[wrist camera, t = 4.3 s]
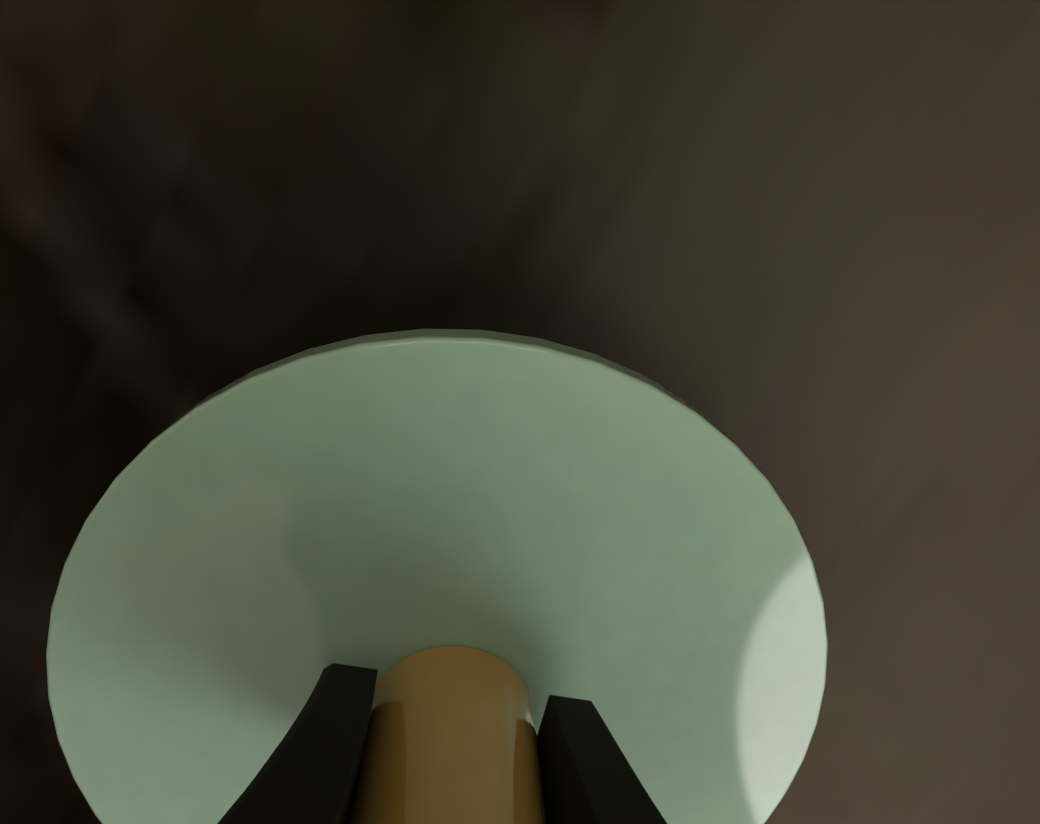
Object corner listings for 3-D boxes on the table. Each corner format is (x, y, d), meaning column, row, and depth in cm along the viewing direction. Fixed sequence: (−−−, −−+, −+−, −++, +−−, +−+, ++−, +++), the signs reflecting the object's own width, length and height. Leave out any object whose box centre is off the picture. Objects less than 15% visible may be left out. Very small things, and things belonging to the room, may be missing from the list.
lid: (-7, 797, 12) (-261, 1144, 8) (246, 160, 9) (52, 175, 5) (582, 976, 15) (627, 1317, 10) (938, 519, 12) (1209, 737, 7)
